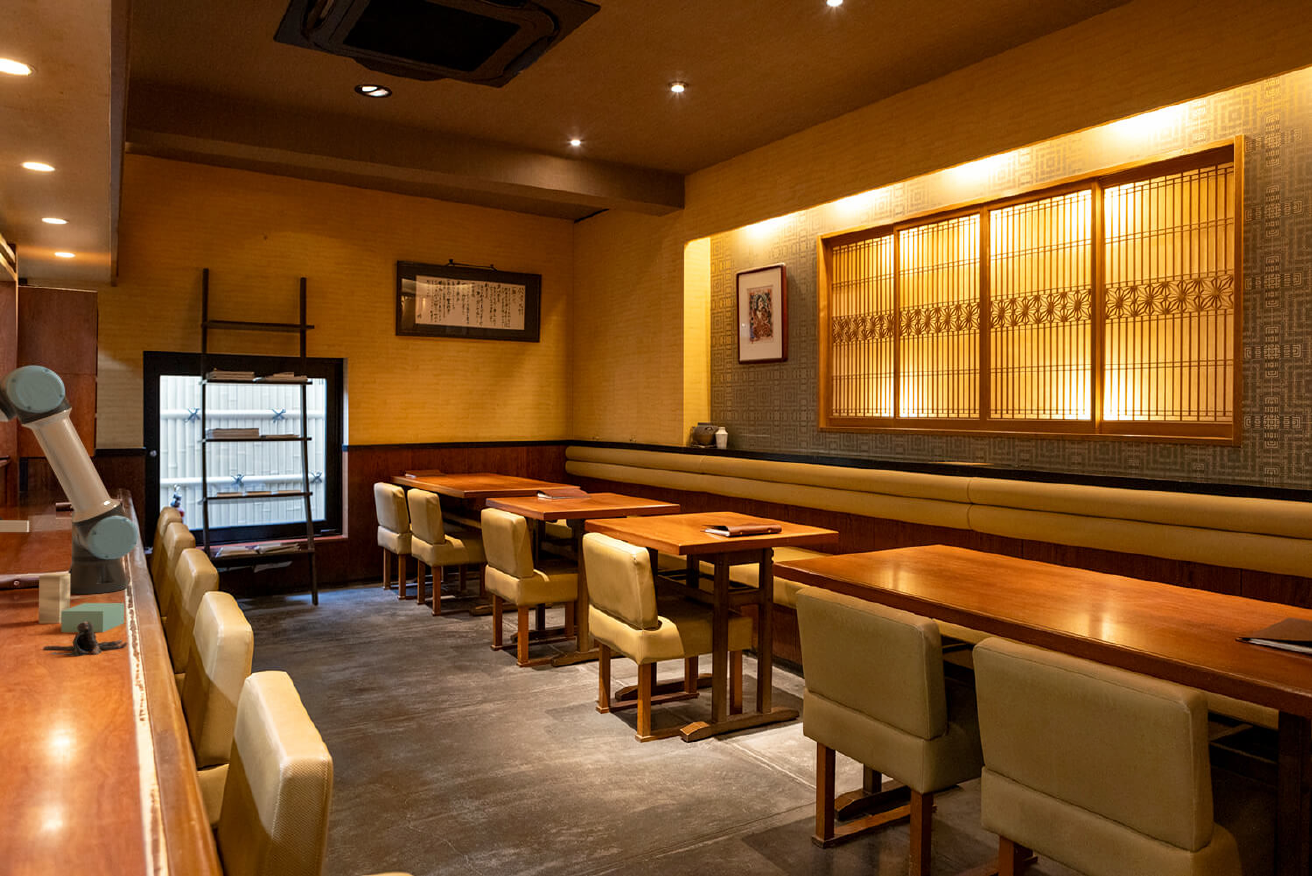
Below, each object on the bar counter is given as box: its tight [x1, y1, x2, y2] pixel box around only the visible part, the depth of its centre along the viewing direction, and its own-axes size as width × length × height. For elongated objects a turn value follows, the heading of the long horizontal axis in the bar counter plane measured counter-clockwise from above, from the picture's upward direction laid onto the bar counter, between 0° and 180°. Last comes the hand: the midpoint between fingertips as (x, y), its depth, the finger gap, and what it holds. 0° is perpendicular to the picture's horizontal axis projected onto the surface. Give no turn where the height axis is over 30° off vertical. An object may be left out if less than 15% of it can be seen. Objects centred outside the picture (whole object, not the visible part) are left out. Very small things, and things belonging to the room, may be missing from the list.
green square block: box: [60, 602, 125, 633], centre depth 203 cm, size 9×9×5 cm
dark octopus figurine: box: [43, 621, 128, 657], centre depth 184 cm, size 12×10×12 cm
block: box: [38, 572, 71, 624], centre depth 208 cm, size 4×4×11 cm
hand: (11, 529), depth 207 cm, fingers open, 13 cm apart
